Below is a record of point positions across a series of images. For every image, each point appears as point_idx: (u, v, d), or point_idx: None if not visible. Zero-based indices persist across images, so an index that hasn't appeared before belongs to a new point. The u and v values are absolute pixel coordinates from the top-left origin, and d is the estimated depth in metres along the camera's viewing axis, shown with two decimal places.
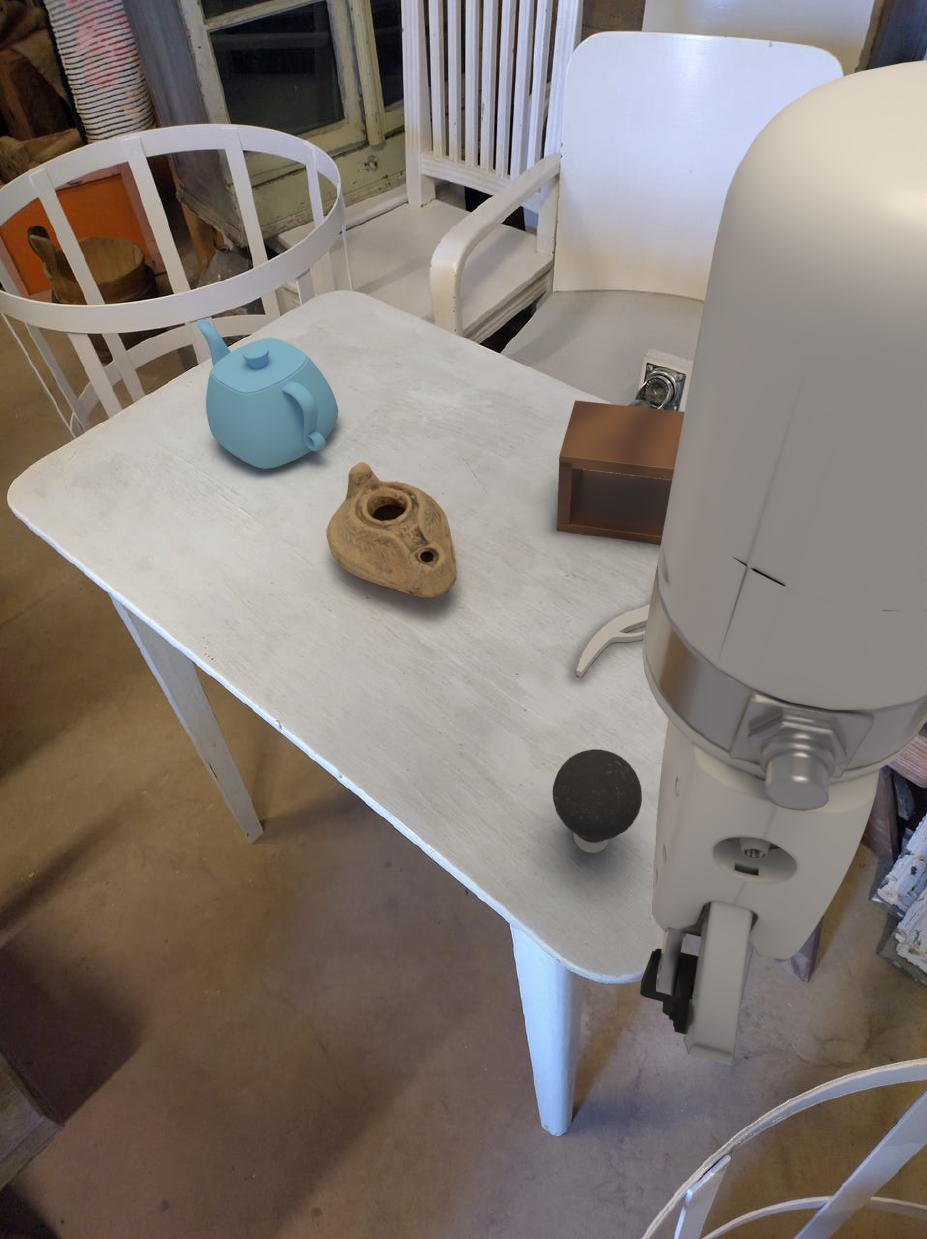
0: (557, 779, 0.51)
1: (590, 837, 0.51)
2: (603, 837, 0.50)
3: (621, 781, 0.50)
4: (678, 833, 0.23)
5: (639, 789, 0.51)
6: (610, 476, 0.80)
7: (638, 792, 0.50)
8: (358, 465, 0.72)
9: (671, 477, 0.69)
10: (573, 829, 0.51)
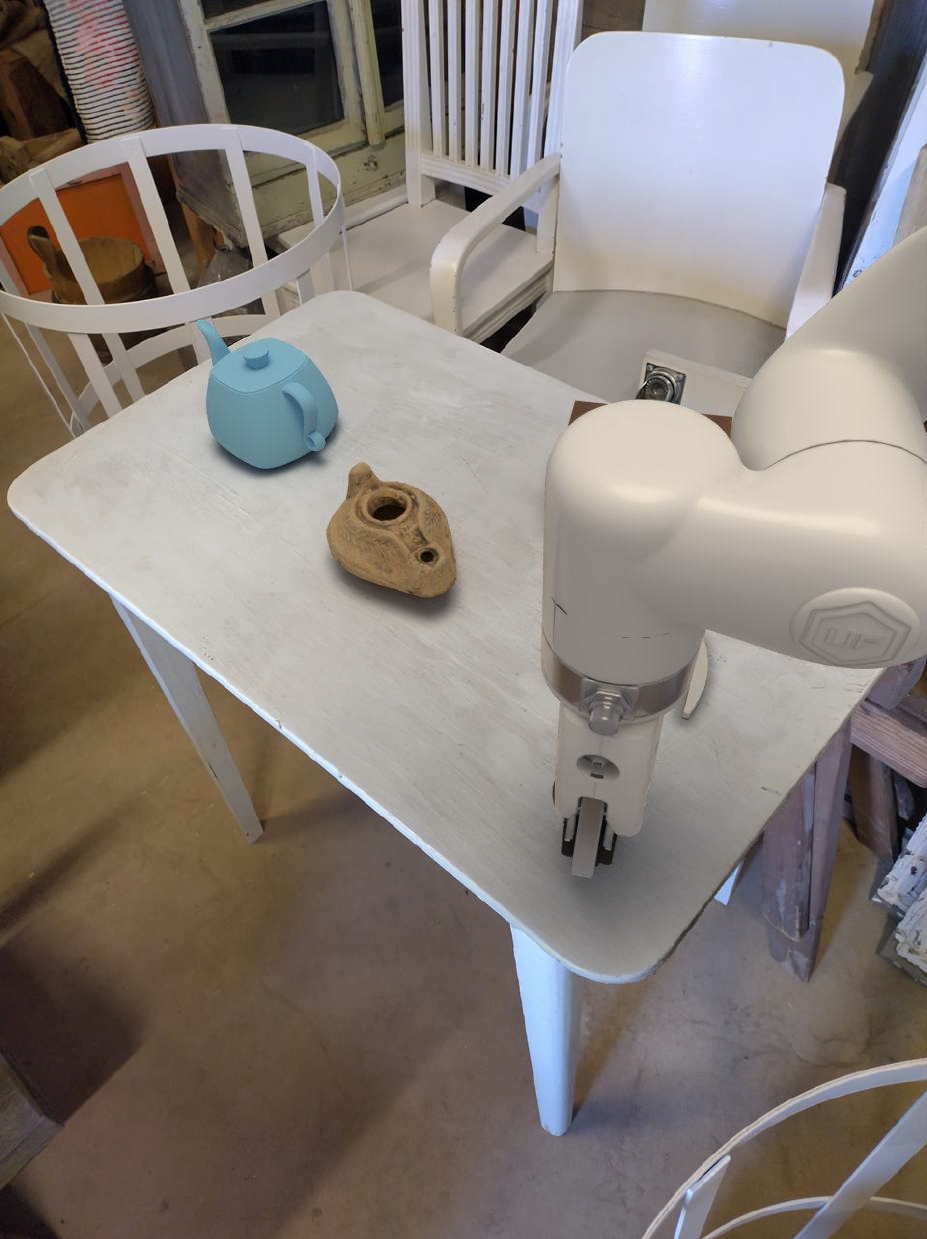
0: None
1: None
2: None
3: None
4: (559, 755, 0.41)
5: None
6: None
7: None
8: (358, 465, 0.72)
9: None
10: None
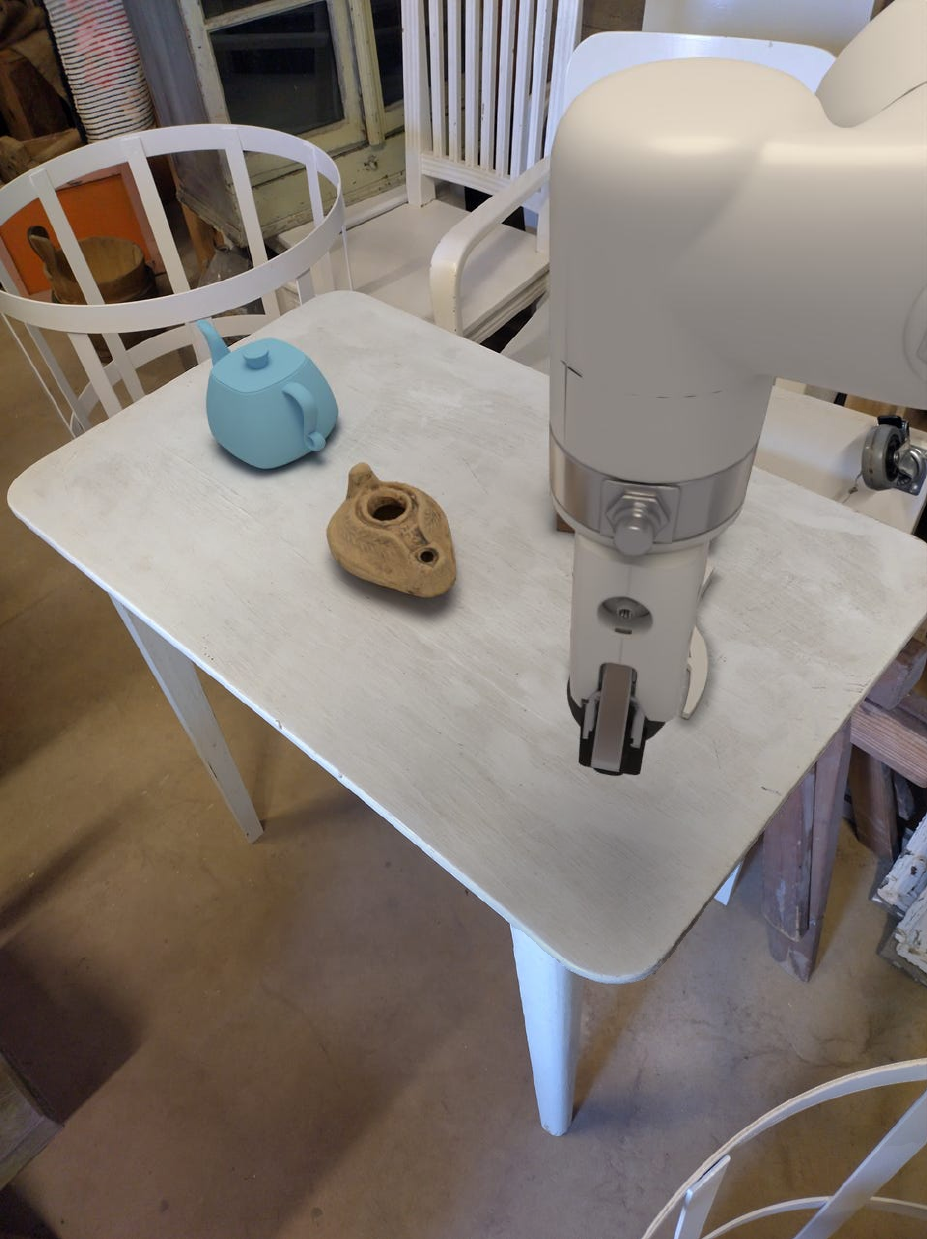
0: None
1: None
2: None
3: None
4: (575, 606, 0.32)
5: None
6: None
7: None
8: (358, 465, 0.72)
9: None
10: None
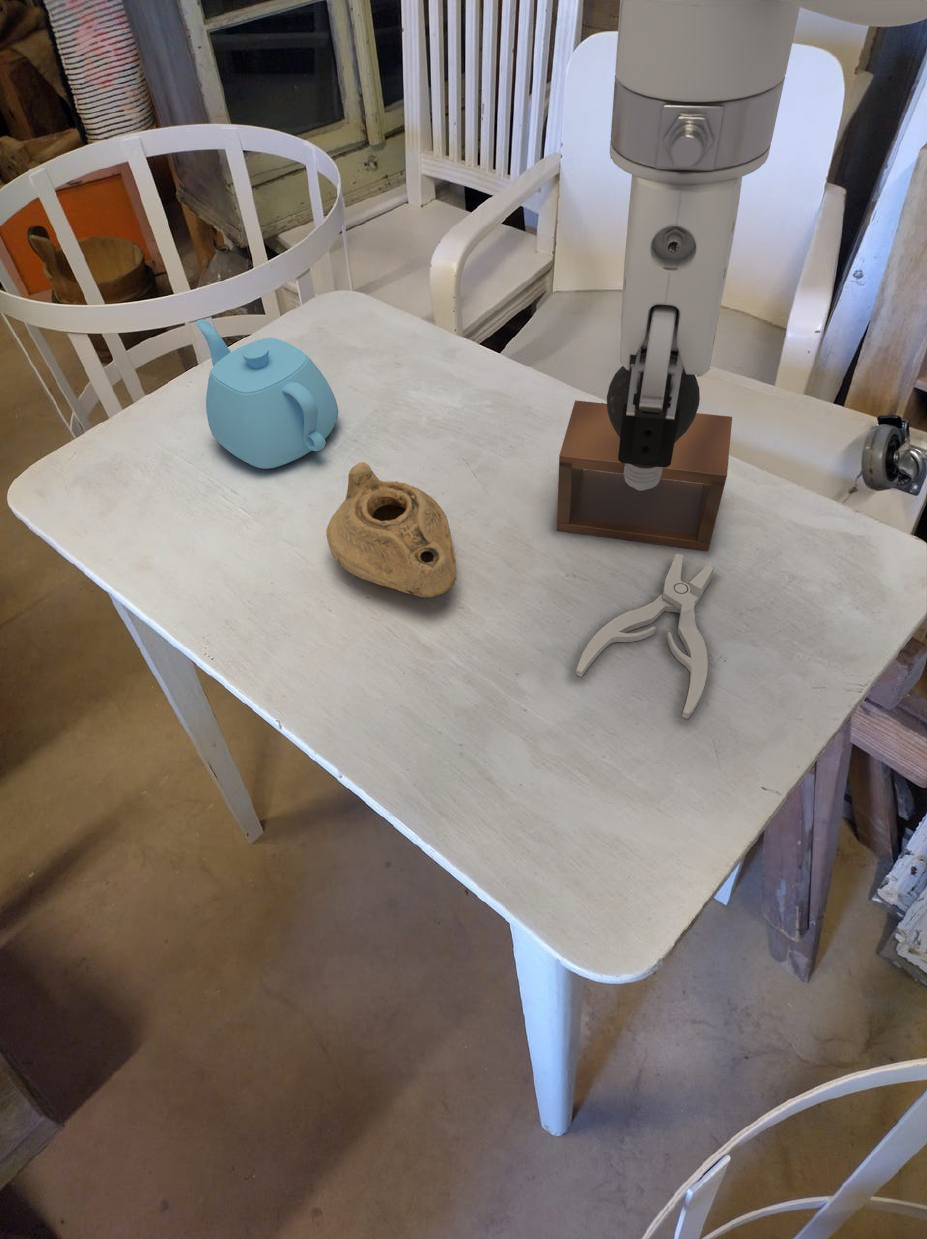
0: (612, 381, 0.50)
1: None
2: None
3: None
4: (631, 249, 0.39)
5: (697, 384, 0.49)
6: (610, 476, 0.80)
7: (697, 385, 0.49)
8: (358, 465, 0.72)
9: (671, 477, 0.69)
10: None
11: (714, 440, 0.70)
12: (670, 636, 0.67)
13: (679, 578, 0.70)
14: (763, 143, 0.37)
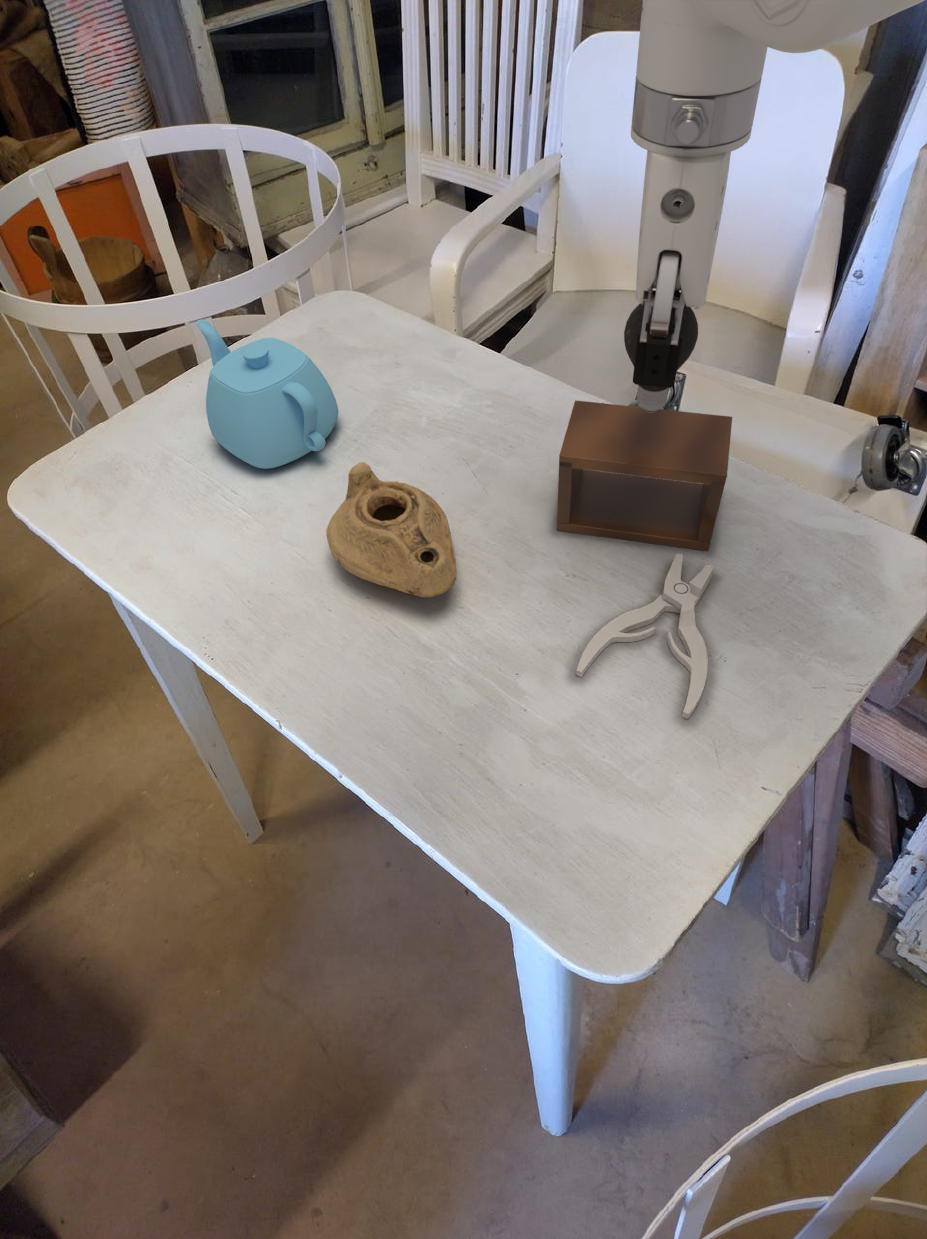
0: (628, 318, 0.63)
1: None
2: None
3: None
4: (646, 207, 0.52)
5: (696, 320, 0.62)
6: (610, 476, 0.80)
7: (695, 321, 0.62)
8: (358, 465, 0.72)
9: (671, 477, 0.69)
10: None
11: (714, 440, 0.70)
12: (670, 636, 0.67)
13: (679, 578, 0.70)
14: (745, 127, 0.50)
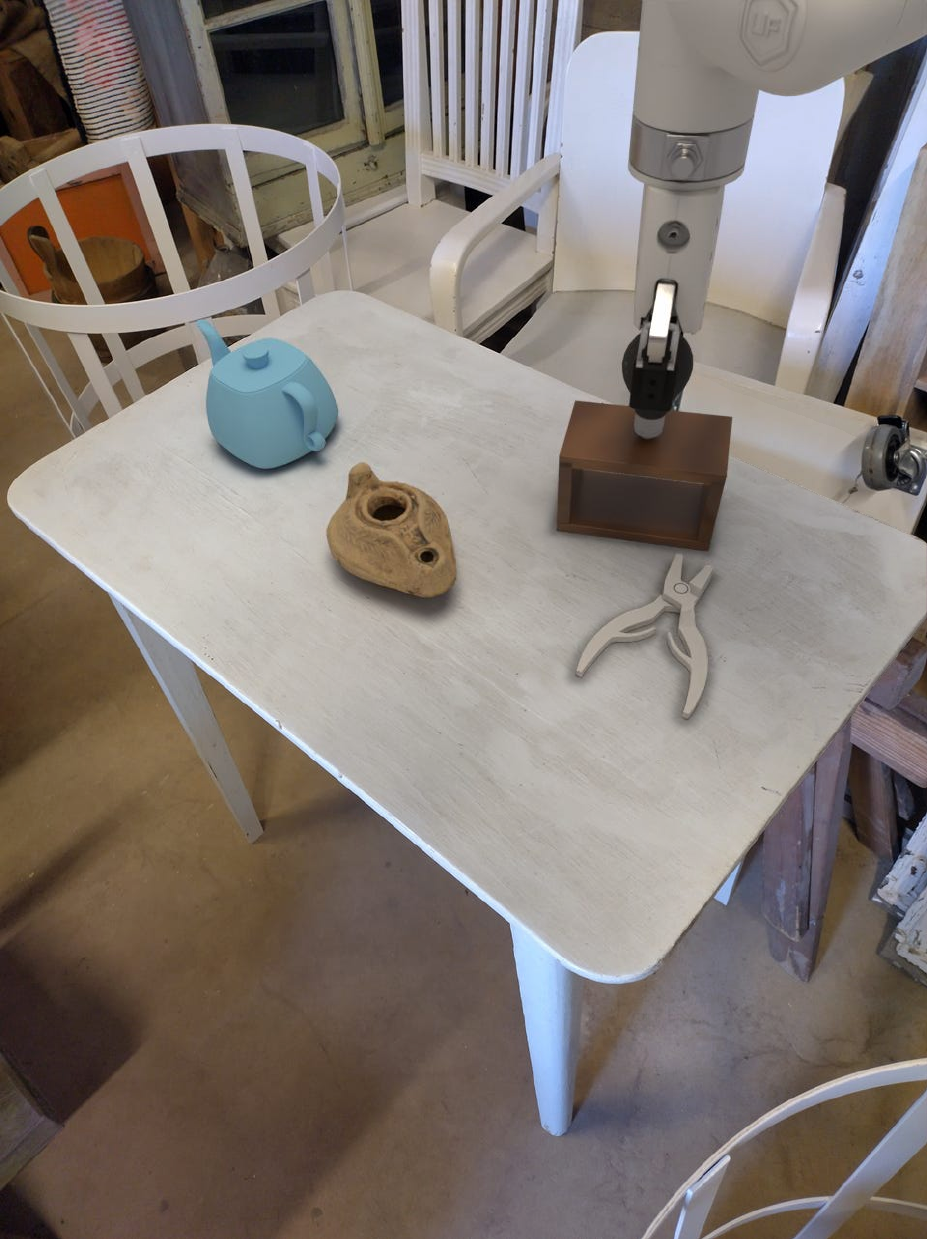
0: (626, 350, 0.65)
1: None
2: None
3: None
4: (642, 237, 0.54)
5: (691, 352, 0.64)
6: (610, 476, 0.80)
7: (691, 353, 0.64)
8: (358, 465, 0.72)
9: (671, 477, 0.69)
10: None
11: (714, 440, 0.70)
12: (670, 636, 0.67)
13: (679, 578, 0.70)
14: (739, 161, 0.51)
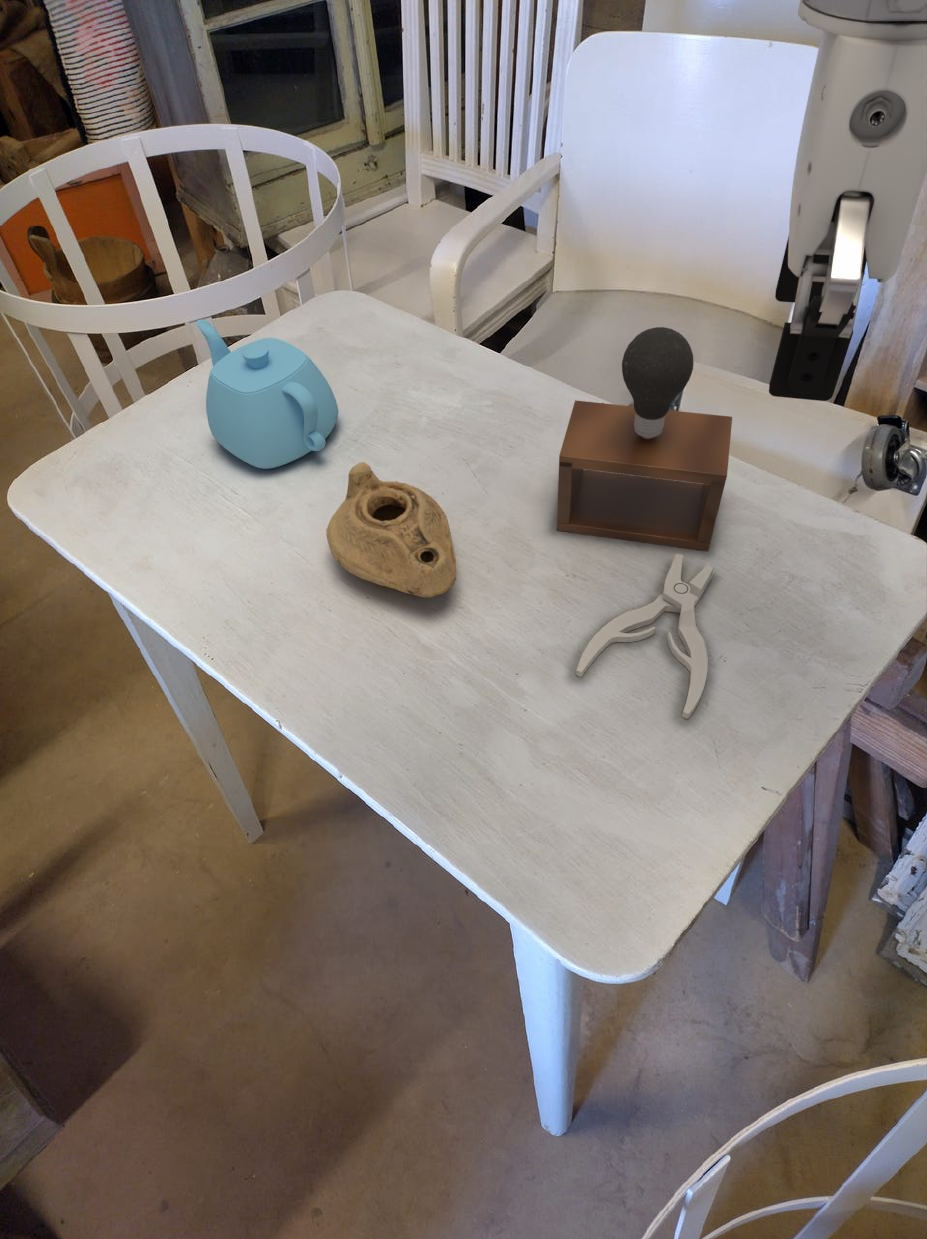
0: (626, 350, 0.65)
1: (653, 390, 0.64)
2: (663, 389, 0.64)
3: (678, 339, 0.63)
4: (824, 124, 0.34)
5: None
6: (610, 476, 0.80)
7: (691, 353, 0.64)
8: (358, 465, 0.72)
9: (671, 477, 0.69)
10: (639, 385, 0.64)
11: (714, 440, 0.70)
12: (670, 636, 0.67)
13: (679, 578, 0.70)
14: None
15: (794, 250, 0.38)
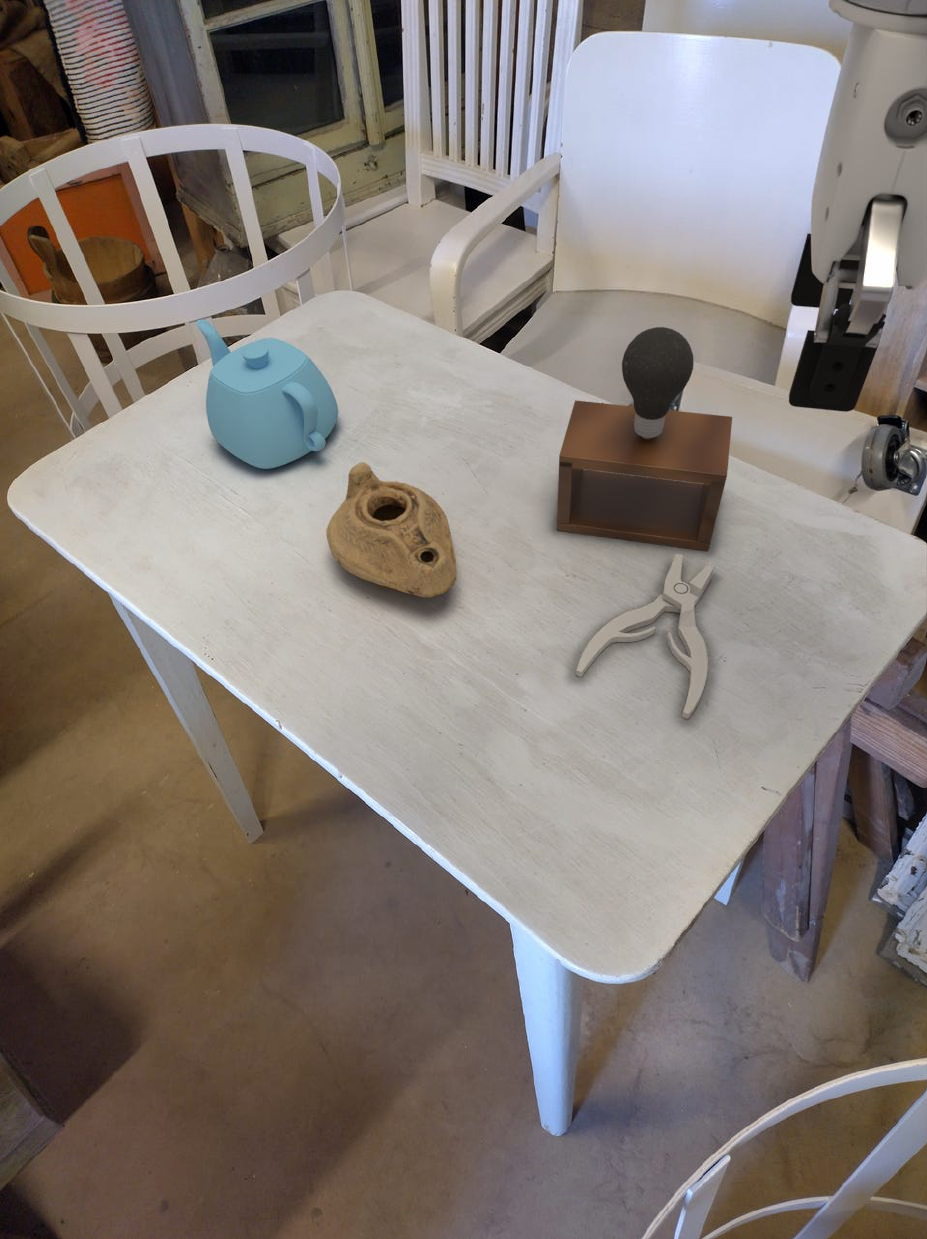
0: (626, 350, 0.65)
1: (653, 390, 0.64)
2: (663, 389, 0.64)
3: (678, 339, 0.63)
4: (857, 123, 0.33)
5: None
6: (610, 476, 0.80)
7: (691, 353, 0.64)
8: (358, 465, 0.72)
9: (671, 477, 0.69)
10: (639, 385, 0.64)
11: (714, 440, 0.70)
12: (670, 636, 0.67)
13: (679, 578, 0.70)
14: None
15: (820, 255, 0.36)
